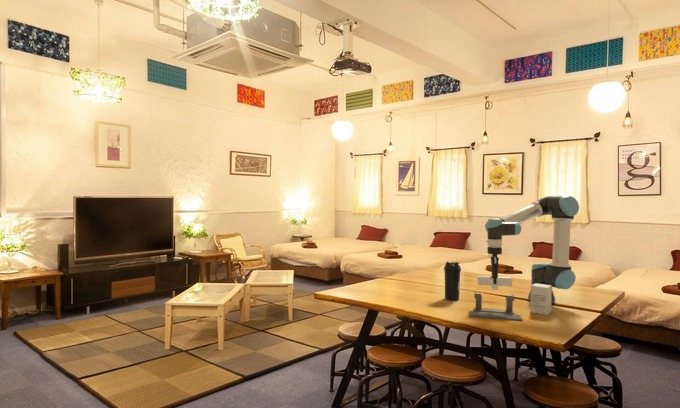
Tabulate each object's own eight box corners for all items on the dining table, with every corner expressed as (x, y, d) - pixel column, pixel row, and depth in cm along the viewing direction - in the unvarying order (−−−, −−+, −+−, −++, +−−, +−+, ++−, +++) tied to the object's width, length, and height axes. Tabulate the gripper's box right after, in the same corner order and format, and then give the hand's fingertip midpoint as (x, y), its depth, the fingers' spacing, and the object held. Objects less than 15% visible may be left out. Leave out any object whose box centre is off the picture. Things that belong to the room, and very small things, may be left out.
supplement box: (534, 309, 250) (535, 283, 249) (551, 312, 244) (552, 285, 244) (529, 312, 243) (530, 285, 242) (547, 315, 237) (547, 287, 237)
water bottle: (461, 301, 267) (461, 263, 266) (443, 300, 269) (444, 262, 268) (459, 297, 277) (460, 261, 276) (443, 296, 279) (443, 260, 278)
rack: (513, 311, 244) (513, 294, 244) (514, 314, 238) (514, 296, 238) (473, 308, 250) (473, 291, 250) (473, 310, 244) (474, 293, 244)
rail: (511, 285, 243) (511, 277, 243) (512, 286, 240) (512, 278, 240) (477, 283, 248) (477, 275, 248) (477, 284, 245) (477, 276, 245)
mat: (520, 316, 233) (520, 315, 233) (522, 320, 225) (522, 319, 225) (469, 312, 241) (469, 311, 241) (469, 316, 232) (469, 315, 232)
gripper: (486, 244, 253) (486, 285, 253) (488, 248, 237) (488, 291, 237) (500, 245, 251) (500, 286, 251) (503, 248, 235) (503, 292, 235)
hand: (494, 288), depth 244 cm, fingers closed on rail, 3 cm apart
